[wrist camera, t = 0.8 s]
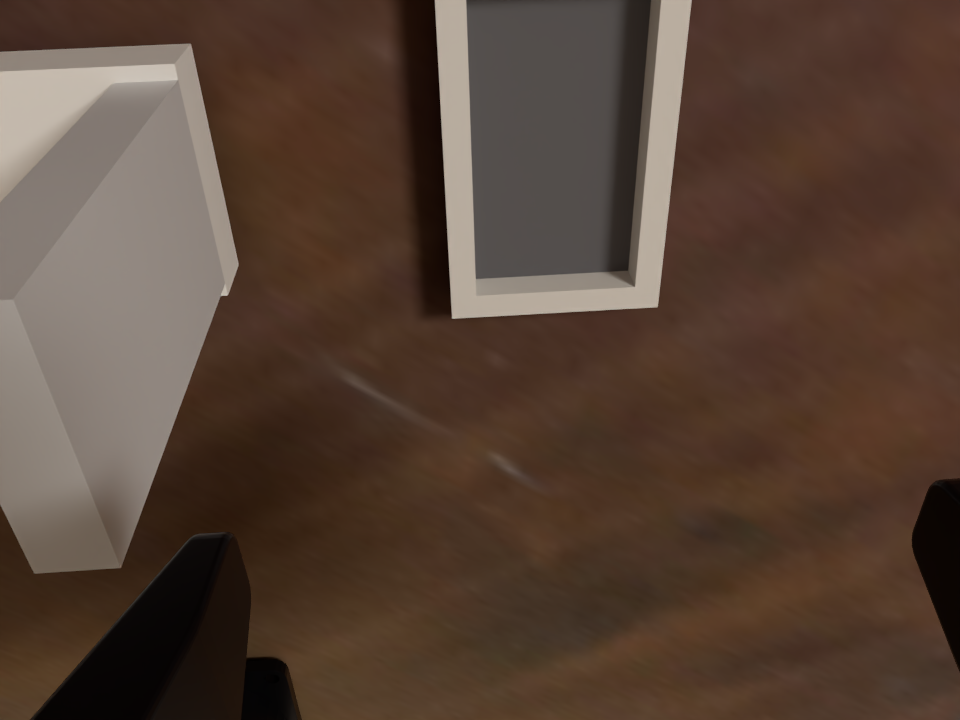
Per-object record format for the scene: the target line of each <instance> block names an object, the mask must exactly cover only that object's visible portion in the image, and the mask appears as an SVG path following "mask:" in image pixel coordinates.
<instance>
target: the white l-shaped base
mask: <svg viewBox="0 0 960 720" xmlns="http://www.w3.org/2000/svg"><path fill="white" fill-rule="evenodd" d="M238 265H239V264H238V259H237V255H236V250H235V245H234V241H233V236H232V231H231V227H230V222H229V218H228V213H227V208H226V204H225V199H224V195H223V190H222V185H221V181H220V176H219V171H218V167H217V162H216V158H215V153H214V148H213V144H212V139H211V134H210V130H209V125H208V121H207V116H206V111H205V107H204V102H203V98H202V93H201V88H200V84H199V79H198V74H197V70H196V65H195V61H194V56H193V51H192V47H191V44H169V45H147V46H124V47H101V48H78V49H56V50H33V51H10V52H0V505H1V507H2V509H3V511H4V513H5V515H6V517H7V519H8V521H9V523H10V525H11V527H12V530H13V532H14V534H15V536H16V538H17V540H18V542H19V544H20V546H21V548H22V550H23V552H24V554H25V556H26V558H27V560H28V562H29V564H30V566H31V568H32V570H33V572H34V574H37V573H52V572H67V571H82V570H97V569H113V568H121V566H122V564H123V561H124V558H125V556H126V553H127V550H128V547H129V545H130V542H131V539H132V536H133V534H134V531H135V528H136V526H137V523H138V520H139V517H140V515H141V512H142V509H143V506H144V504H145V501H146V498H147V495H148V493H149V490H150V487H151V485H152V482H153V479H154V476H155V474H156V471H157V468H158V465H159V463H160V460H161V457H162V455H163V452H164V449H165V446H166V444H167V441H168V438H169V435H170V433H171V430H172V427H173V425H174V422H175V419H176V416H177V414H178V411H179V408H180V405H181V403H182V400H183V397H184V394H185V392H186V389H187V386H188V384H189V381H190V378H191V375H192V373H193V370H194V367H195V364H196V362H197V359H198V356H199V354H200V351H201V348H202V345H203V343H204V340H205V337H206V334H207V332H208V329H209V326H210V324H211V321H212V318H213V315H214V313H215V310H216V307H217V304H218V302H219V299H220V296H226V295H228V294H229V291H230V288H231V285H232V282H233V279H234V277H235V274H236V271H237V268H238Z"/></svg>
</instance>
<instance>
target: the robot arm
mask: <svg viewBox="0 0 960 720" xmlns="http://www.w3.org/2000/svg"><path fill="white" fill-rule="evenodd" d="M912 548H913V553H914V556H915V559H916V561H917V564H918V566H919V569H920V572H921V574H922V577H923V579H924V582H925V584H926V587H927V590H928V592H929V595H930V597H931V600H932V603H933V605H934V608H935V610H936V613H937V615H938V618H939V621H940V623H941V626H942V628H943V631H944V634H945V636H946V639H947V641H948V644H949V646H950V649H951V652H952V654H953V657H954V659H955V662H956V664H957V667H958V669H959V671H960V478H958V479H943V480H938V481H935V482H934V483H933V484H932V485H931V486H930V487H929V489H928V491H927V494H926V497H925V499H924V502H923V505H922V508H921V510H920V513H919V516H918V519H917V521H916V524H915V527H914V530H913V533H912ZM250 608H251V591H250V584H249V580H248V576H247V573H246V570H245V566H244V563H243V559H242V556H241V552H240V549H239V545H238V542H237V539H236V538H235V536H234V535H233V534H232V533H230V532H217V533H204V534H196V535H194V536H192V537H191V538H190V539H189V540H187V542H186V543H185V544H184V545H183V546H182V547H181V548H180V550H179V551H178V552H177V553H176V554H175V555H174V556H173V557H172V559H171V560H170V561H169V562H168V563H167V564H166V565H165V567H164V568H163V569H162V570H161V571H160V572H159V573H158V575H157V576H156V577H155V578H154V579H153V580H152V581H151V583H150V584H149V585H148V586H147V587H146V588H145V589H144V591H143V592H142V593H141V594H140V595H139V596H138V597H137V598H136V600H135V601H134V602H133V603H132V604H131V605H130V606H129V608H128V609H127V610H126V611H125V612H124V613H123V614H122V616H121V617H120V618H119V619H118V620H117V621H116V622H115V624H114V625H113V626H112V627H111V628H110V629H109V630H108V631H107V633H106V634H105V635H104V636H103V637H102V638H101V639H100V641H99V642H98V643H97V644H96V645H95V646H94V647H93V649H92V650H91V651H90V652H89V653H88V654H87V655H86V657H85V658H84V659H83V660H82V661H81V662H80V663H79V664H78V666H77V667H76V668H75V669H74V670H73V671H72V672H71V674H70V675H69V676H68V677H67V678H66V679H65V680H64V682H63V683H62V684H61V685H60V686H59V687H58V688H57V690H56V691H55V692H54V693H53V694H52V695H51V696H50V697H49V699H48V700H47V701H46V702H45V703H44V704H43V705H42V707H41V708H40V709H39V710H38V711H37V712H36V713H35V715H34V716H33V717H32V718H31V719H30V720H302V719H301V715H300V711H299V708H298V704H297V700H296V696H295V692H294V688H293V684H292V680H291V677H290V673H289V669H288V667H287V665H286V664H285V663H283V662H282V661H278V660H261V661H247V662H246V655H247V643H248V632H249V620H250Z"/></svg>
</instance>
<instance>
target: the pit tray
mask: <svg viewBox="0 0 960 720" xmlns="http://www.w3.org/2000/svg"><path fill="white" fill-rule="evenodd" d="M691 1H692V0H435V17H436V36H437V54H438V73H439V91H440V110H441V128H442V146H443V165H444V183H445V202H446V220H447V239H448V257H449V275H450V294H451V309H452V319H456V318H473V317H491V316H509V315H527V314H544V313H562V312H580V311H598V310H616V309H633V308H651V307H658V300H659V291H660V282H661V272H662V263H663V254H664V245H665V236H666V227H667V218H668V209H669V200H670V191H671V182H672V173H673V164H674V155H675V146H676V137H677V128H678V119H679V110H680V101H681V91H682V82H683V73H684V64H685V55H686V46H687V37H688V28H689V19H690V10H691Z"/></svg>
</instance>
